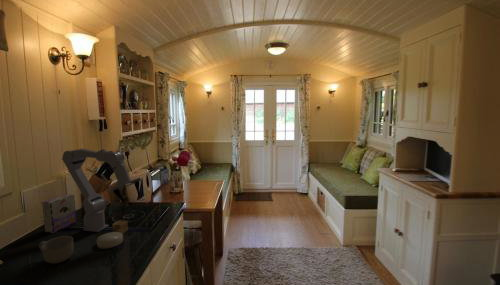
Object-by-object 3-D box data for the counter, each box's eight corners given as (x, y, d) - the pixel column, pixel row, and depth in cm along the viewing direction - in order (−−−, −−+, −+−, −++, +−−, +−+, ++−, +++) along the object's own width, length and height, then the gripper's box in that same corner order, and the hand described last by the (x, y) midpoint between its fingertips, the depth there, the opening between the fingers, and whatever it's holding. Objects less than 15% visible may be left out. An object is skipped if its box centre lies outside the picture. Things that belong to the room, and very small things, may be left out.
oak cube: (113, 233, 135) (112, 224, 135) (119, 229, 140) (119, 220, 140) (121, 234, 134) (121, 225, 134) (128, 230, 139) (127, 221, 139)
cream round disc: (91, 247, 122) (90, 241, 121) (108, 236, 132) (108, 231, 132) (112, 250, 119) (111, 244, 119) (128, 238, 130) (127, 233, 130)
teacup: (80, 255, 115) (79, 237, 114) (55, 269, 105) (53, 250, 104) (57, 250, 119) (56, 233, 118) (31, 263, 109) (29, 244, 108)
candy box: (69, 221, 151) (66, 193, 149) (77, 222, 149) (74, 194, 147) (44, 232, 137) (41, 201, 135) (53, 233, 136) (50, 202, 134)
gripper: (105, 180, 127) (116, 206, 127) (136, 169, 133) (146, 194, 133) (107, 180, 133) (117, 205, 133) (136, 169, 139) (146, 193, 139)
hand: (131, 199), depth 134 cm, fingers open, 7 cm apart
